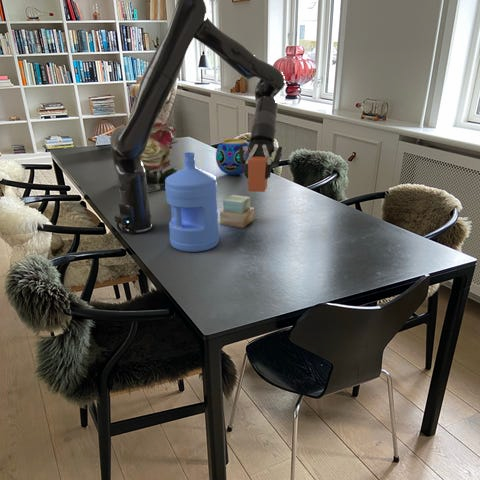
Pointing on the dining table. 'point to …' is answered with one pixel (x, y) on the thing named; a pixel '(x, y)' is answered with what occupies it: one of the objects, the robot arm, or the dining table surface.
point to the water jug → (192, 208)
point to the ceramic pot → (231, 156)
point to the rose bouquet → (158, 155)
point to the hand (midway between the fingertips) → (256, 177)
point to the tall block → (257, 174)
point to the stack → (237, 211)
